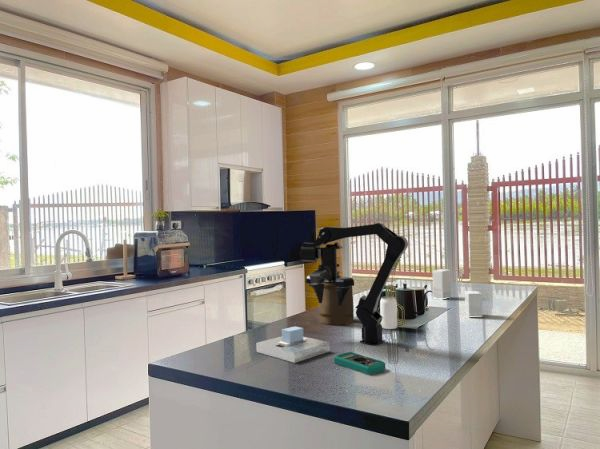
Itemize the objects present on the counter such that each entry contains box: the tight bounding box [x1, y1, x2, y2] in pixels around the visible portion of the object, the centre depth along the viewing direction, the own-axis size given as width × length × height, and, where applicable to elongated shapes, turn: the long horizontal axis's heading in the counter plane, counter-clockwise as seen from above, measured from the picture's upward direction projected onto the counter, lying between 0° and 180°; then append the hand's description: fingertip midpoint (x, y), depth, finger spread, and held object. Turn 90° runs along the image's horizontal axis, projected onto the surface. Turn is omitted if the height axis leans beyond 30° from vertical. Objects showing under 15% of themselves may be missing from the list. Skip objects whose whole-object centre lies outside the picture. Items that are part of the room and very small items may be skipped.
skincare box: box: [432, 268, 452, 298], centre depth 241 cm, size 8×7×16 cm
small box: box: [464, 290, 484, 317], centre depth 195 cm, size 8×6×10 cm
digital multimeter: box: [333, 351, 386, 376], centre depth 130 cm, size 7×15×3 cm, turn 38°
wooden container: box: [318, 270, 355, 326], centre depth 191 cm, size 15×15×22 cm
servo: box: [278, 326, 307, 348], centre depth 147 cm, size 4×10×8 cm, turn 134°
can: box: [379, 295, 398, 330], centre depth 177 cm, size 6×6×12 cm
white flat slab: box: [255, 335, 331, 364], centre depth 147 cm, size 18×16×3 cm
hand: (329, 304), depth 162 cm, fingers open, 9 cm apart
